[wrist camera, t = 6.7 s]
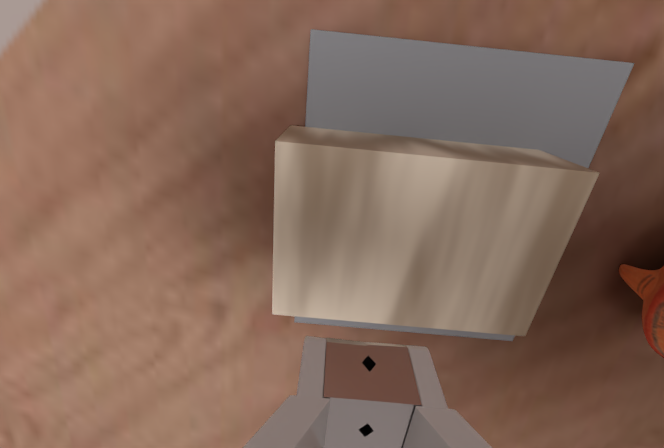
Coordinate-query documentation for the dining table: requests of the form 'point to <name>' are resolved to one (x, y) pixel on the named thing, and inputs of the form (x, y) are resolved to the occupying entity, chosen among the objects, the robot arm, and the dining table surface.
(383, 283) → the birch block
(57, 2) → the dining table surface
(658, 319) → the pot
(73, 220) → the dining table surface
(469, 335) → the mat
